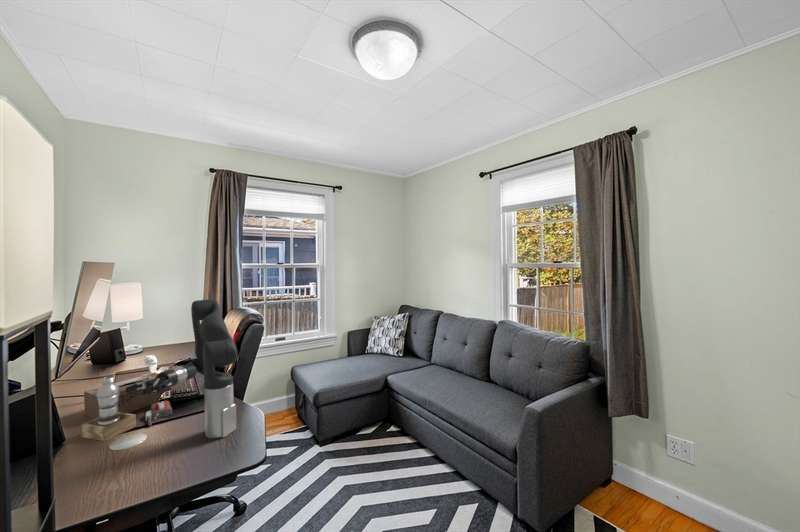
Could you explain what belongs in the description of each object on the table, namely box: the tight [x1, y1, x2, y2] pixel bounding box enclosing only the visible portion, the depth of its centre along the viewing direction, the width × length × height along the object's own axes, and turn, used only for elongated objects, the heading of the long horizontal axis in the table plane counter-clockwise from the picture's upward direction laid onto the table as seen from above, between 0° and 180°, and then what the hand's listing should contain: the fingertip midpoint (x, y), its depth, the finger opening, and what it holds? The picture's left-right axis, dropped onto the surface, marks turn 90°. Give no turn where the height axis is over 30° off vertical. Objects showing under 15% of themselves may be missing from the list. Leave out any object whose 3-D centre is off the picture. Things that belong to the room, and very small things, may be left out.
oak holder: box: [80, 412, 137, 442], centre depth 121 cm, size 12×11×4 cm
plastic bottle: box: [97, 375, 120, 427], centre depth 121 cm, size 6×7×20 cm
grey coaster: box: [109, 433, 148, 451], centre depth 114 cm, size 10×10×1 cm
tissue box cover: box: [83, 372, 172, 420], centre depth 144 cm, size 26×14×10 cm, turn 152°
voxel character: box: [143, 354, 162, 375], centre depth 166 cm, size 7×12×15 cm
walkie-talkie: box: [144, 400, 173, 427], centre depth 134 cm, size 9×4×20 cm
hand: (134, 391), depth 130 cm, fingers open, 8 cm apart
